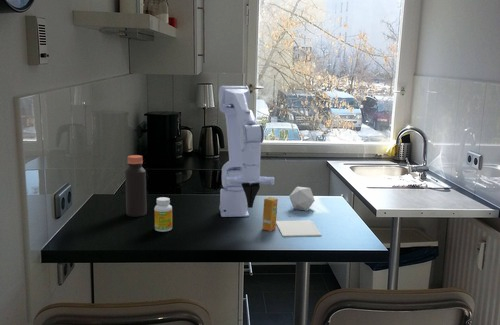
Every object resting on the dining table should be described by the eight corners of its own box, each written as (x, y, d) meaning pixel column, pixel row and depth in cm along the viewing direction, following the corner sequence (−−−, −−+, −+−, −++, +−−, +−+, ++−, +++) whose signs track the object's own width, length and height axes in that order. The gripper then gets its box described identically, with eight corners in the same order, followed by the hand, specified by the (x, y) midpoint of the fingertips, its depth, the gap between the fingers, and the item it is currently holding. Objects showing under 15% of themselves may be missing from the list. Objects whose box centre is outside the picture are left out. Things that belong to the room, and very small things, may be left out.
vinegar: (132, 218, 164) (130, 159, 160) (122, 213, 169) (120, 156, 165) (150, 214, 168) (149, 156, 164) (140, 210, 173) (139, 153, 169)
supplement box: (271, 231, 154) (272, 200, 152) (262, 229, 155) (262, 198, 153) (276, 228, 156) (277, 198, 154) (267, 226, 158) (268, 196, 156)
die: (317, 209, 181) (307, 185, 184) (318, 203, 173) (307, 179, 176) (296, 217, 181) (286, 193, 184) (296, 212, 172) (286, 187, 176)
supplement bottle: (157, 232, 151) (157, 202, 149) (152, 227, 155) (152, 197, 153) (174, 230, 153) (174, 200, 151) (169, 225, 158) (168, 195, 156)
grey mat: (282, 236, 149) (282, 235, 149) (275, 222, 163) (275, 220, 163) (321, 235, 151) (321, 234, 151) (311, 221, 164) (311, 220, 164)
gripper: (228, 166, 146) (227, 210, 149) (276, 166, 148) (275, 210, 151) (226, 161, 153) (226, 204, 156) (272, 161, 155) (271, 203, 158)
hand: (250, 206), depth 154 cm, fingers closed
